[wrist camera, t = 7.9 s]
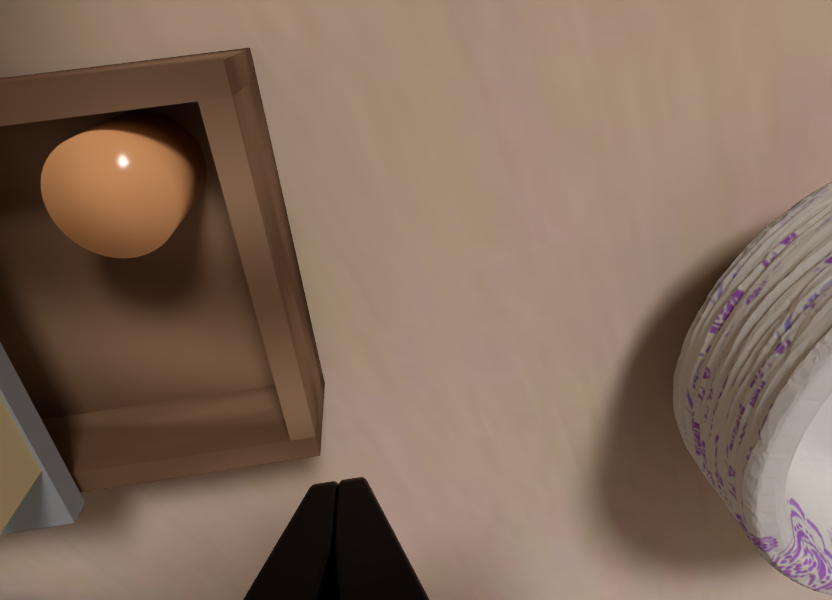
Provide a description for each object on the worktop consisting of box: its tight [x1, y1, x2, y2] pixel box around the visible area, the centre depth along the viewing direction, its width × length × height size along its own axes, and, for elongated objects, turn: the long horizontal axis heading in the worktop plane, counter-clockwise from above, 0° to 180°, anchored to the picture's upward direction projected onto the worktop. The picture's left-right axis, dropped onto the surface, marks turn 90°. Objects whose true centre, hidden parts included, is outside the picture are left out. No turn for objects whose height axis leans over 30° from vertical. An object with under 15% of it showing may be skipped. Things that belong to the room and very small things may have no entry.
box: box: [0, 48, 325, 492], centre depth 17 cm, size 12×14×4 cm
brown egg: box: [41, 110, 207, 258], centre depth 16 cm, size 3×3×3 cm
